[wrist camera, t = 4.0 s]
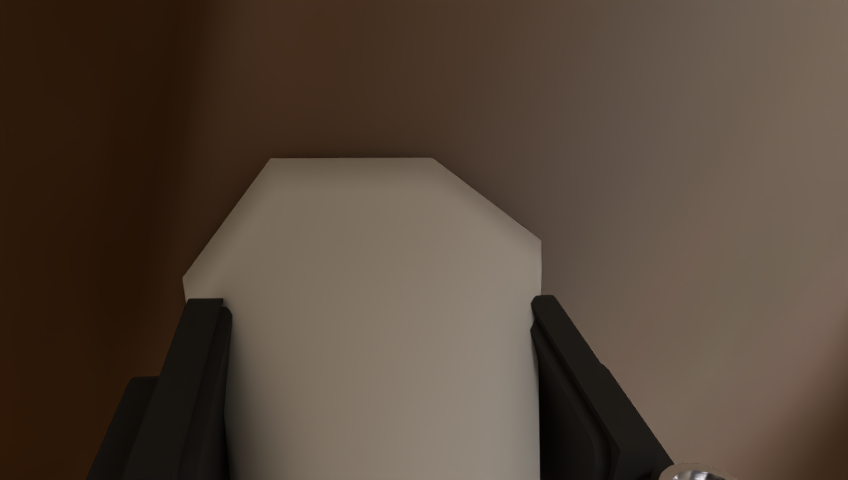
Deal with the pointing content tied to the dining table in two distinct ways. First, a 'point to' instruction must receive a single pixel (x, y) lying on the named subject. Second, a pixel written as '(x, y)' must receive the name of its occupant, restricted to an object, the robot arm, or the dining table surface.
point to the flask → (375, 325)
